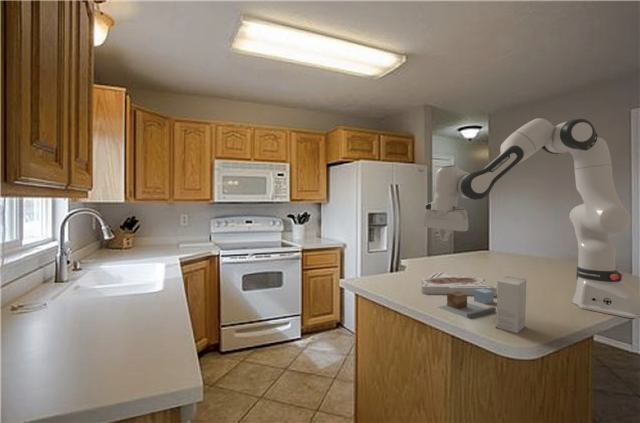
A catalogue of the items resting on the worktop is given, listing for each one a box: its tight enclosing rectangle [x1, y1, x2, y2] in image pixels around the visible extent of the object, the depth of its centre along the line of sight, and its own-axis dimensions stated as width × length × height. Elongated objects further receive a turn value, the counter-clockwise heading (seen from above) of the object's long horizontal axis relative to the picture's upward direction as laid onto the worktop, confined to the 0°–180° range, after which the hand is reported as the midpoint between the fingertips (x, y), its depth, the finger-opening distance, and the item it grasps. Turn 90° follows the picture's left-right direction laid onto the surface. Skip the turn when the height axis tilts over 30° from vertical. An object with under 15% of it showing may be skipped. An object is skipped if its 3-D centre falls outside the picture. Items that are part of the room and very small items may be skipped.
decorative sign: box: [421, 271, 498, 297], centre depth 159 cm, size 32×4×30 cm
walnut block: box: [446, 291, 468, 309], centre depth 129 cm, size 5×5×5 cm
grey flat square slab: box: [437, 302, 497, 319], centre depth 126 cm, size 14×14×2 cm
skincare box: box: [496, 276, 527, 334], centre depth 109 cm, size 8×7×16 cm
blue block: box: [473, 288, 495, 305], centre depth 135 cm, size 5×5×5 cm
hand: (444, 240), depth 138 cm, fingers closed
